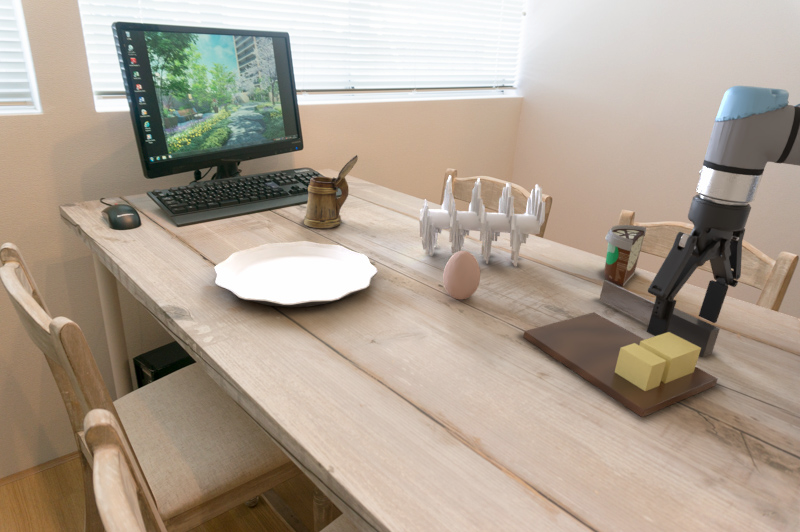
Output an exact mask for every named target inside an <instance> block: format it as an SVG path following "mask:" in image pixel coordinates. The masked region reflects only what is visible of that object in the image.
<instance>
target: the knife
mask: <svg viewBox="0 0 800 532" xmlns="http://www.w3.org/2000/svg"><path fill="white" fill-rule="evenodd" d="M599 295H600V296H599V300H600V301H601V302H603V303H606V304H608V305H609V306H611V307H613V308H615V309H617V310H619V311H622V312H623V313H626V314H627V315H629V316H632V317H633V318H635V319H637V320H639V321H641V322H643V323H645V324H647V325H649V321H650V318H651V314H652V311H653V307H654V304H655V301H652V300H650V299H648V298H646V297H643V296H642V295H640V294H637V293H635V292H632V291H630V290H629V289H626V288H624V287H623V286H620V285H617V284H615V283H612V282H610V281H609V280H607V279H603V282H602V287H601V292H600V294H599ZM720 330H721V328H720V327H717V326H716V325H713V324H711V323H709V322H707V321H704V320H702V319H700V318H698V317H696V316H694V315H691V314H689V313H688V312H684V311H683V310H680V309H678V308H676V307H675V308H674V311H673V314H672V317H671V321H670V324H669V327H668V331H667V332H670V333H672V334H674V335H676V336H678V337H680V338H682V339H684V340H686V341H688V342H690V343H692V344H694V345H696V346H698V347H700V348H701V350H700V353H699V357H702V358H704V357H707V356H709V355H712V354H713V351H714V348H715V345H716V342H717V338H718V336H719V333H720Z"/></svg>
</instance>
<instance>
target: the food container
mask: <svg viewBox="0 0 800 532" xmlns="http://www.w3.org/2000/svg"><path fill="white" fill-rule="evenodd" d="M646 232H647V227H645V226H642V225H641V226H640V225H634V224H633V225H631V224H618V225H613V226H611V227H610V229H609V230H608V231H607V234H606V236H605V241H606V242H607V248H606V256H605V262H604V263H605V264H604V271H603V277H604V278H605V280H607V281H609V282H611V283H613V284H615V285H618V286H620V287H624V286H625V285H626V284H627V283H628V281H630V279H631V278H632V277H633V276H634V274H636V269H637V266H638V261H639V258H640V253H641V250H642V246H643V243H644V238H645V236H646Z"/></svg>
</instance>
